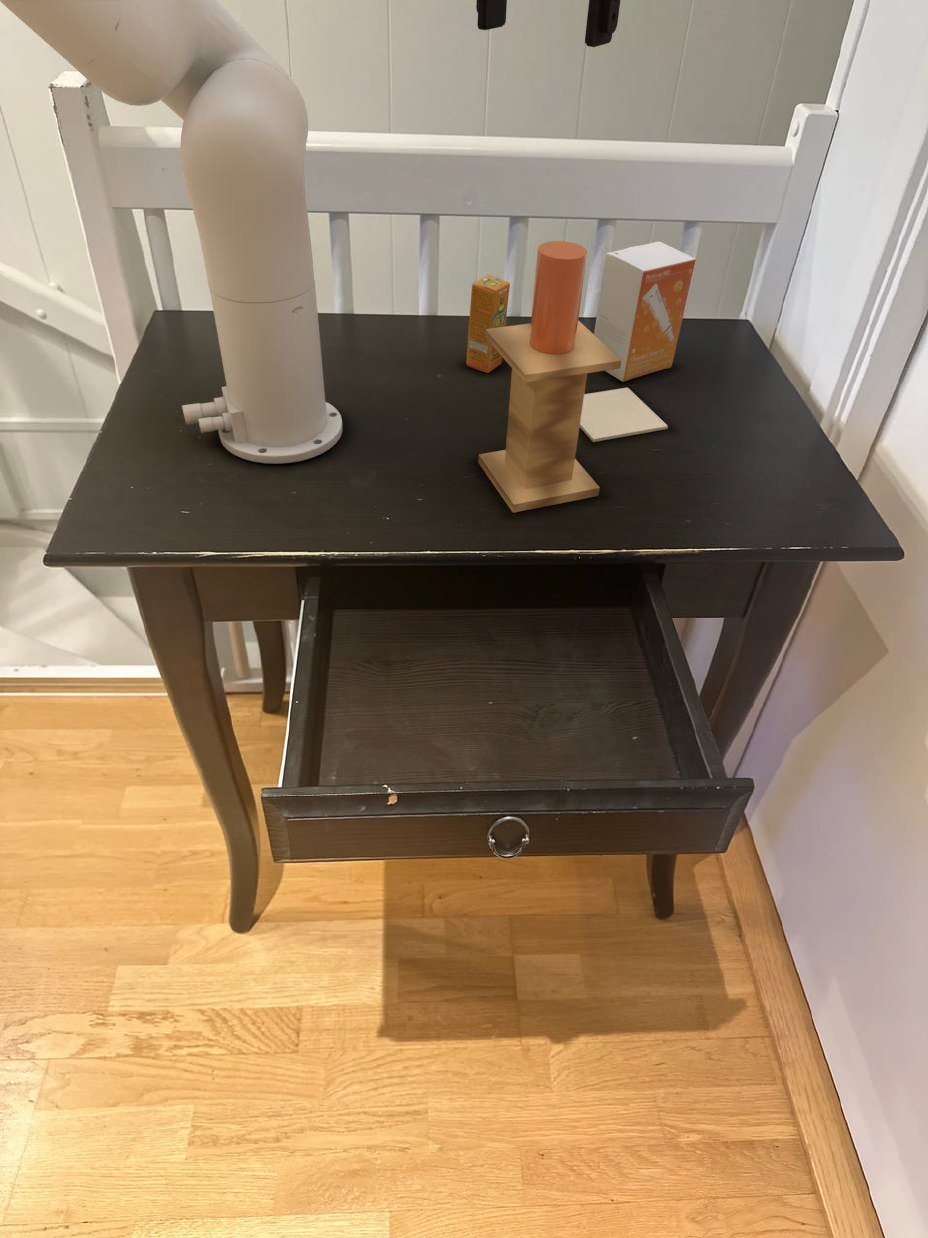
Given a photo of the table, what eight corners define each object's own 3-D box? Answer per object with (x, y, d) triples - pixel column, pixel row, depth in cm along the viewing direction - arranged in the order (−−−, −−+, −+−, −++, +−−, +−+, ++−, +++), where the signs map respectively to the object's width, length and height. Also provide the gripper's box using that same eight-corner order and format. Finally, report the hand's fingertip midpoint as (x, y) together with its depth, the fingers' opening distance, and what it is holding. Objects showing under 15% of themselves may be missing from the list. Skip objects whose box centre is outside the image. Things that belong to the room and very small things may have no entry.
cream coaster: (593, 442, 88) (593, 438, 88) (556, 401, 94) (557, 398, 94) (667, 429, 91) (668, 425, 90) (627, 390, 97) (627, 387, 96)
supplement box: (489, 374, 98) (494, 289, 91) (465, 366, 100) (468, 281, 93) (504, 364, 100) (510, 280, 94) (480, 356, 102) (485, 272, 95)
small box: (623, 383, 98) (643, 270, 89) (588, 361, 102) (604, 251, 93) (673, 367, 101) (697, 257, 92) (638, 347, 105) (658, 239, 96)
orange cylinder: (540, 356, 71) (550, 260, 66) (521, 337, 74) (529, 243, 68) (582, 350, 72) (595, 255, 67) (562, 331, 75) (573, 238, 70)
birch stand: (512, 513, 78) (525, 374, 69) (478, 462, 84) (485, 328, 75) (598, 496, 81) (622, 359, 71) (558, 448, 87) (575, 316, 77)
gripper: (425, -290, 55) (425, 27, 67) (668, -296, 48) (620, 58, 60) (488, -278, 59) (478, 16, 71) (718, -282, 53) (664, 44, 64)
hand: (543, 35), depth 65 cm, fingers open, 9 cm apart
